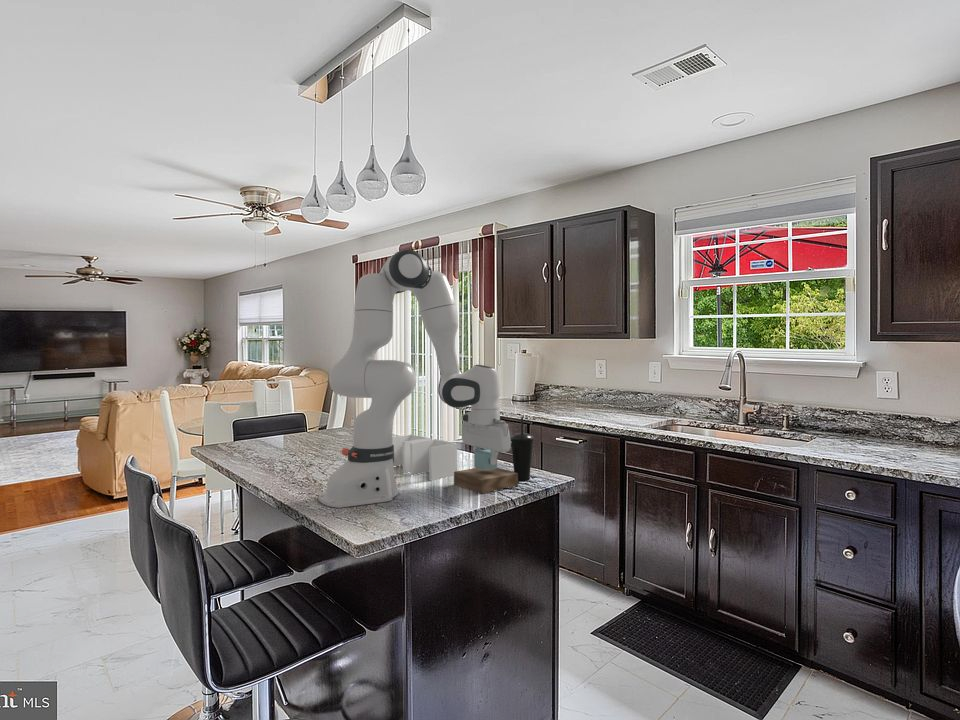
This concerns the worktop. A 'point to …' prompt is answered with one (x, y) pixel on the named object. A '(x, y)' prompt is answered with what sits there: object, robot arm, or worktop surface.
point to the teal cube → (483, 460)
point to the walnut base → (485, 479)
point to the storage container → (425, 456)
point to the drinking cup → (522, 453)
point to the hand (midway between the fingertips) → (485, 462)
